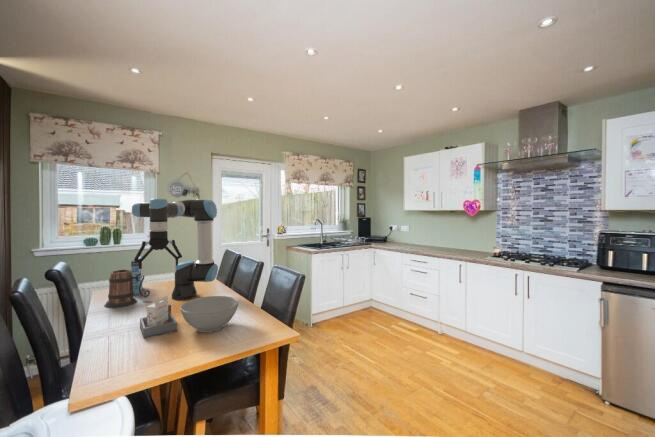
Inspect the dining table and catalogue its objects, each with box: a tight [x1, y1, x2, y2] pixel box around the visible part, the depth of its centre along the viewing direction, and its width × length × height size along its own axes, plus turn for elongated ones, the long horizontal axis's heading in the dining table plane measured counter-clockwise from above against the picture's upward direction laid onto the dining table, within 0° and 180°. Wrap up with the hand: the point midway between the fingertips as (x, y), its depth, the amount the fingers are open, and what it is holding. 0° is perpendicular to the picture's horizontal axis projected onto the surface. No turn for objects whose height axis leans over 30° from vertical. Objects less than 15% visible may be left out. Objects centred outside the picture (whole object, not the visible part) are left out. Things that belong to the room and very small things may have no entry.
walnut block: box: [168, 303, 172, 314], centre depth 155 cm, size 5×7×8 cm
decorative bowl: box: [179, 295, 240, 333], centre depth 146 cm, size 27×27×12 cm
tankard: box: [103, 269, 151, 309], centre depth 181 cm, size 24×17×20 cm
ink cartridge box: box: [146, 295, 169, 327], centre depth 143 cm, size 9×5×15 cm, turn 169°
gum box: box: [130, 256, 144, 296], centre depth 206 cm, size 20×5×23 cm, turn 26°
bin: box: [139, 312, 178, 339], centre depth 143 cm, size 14×16×4 cm
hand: (158, 274), depth 143 cm, fingers open, 13 cm apart
